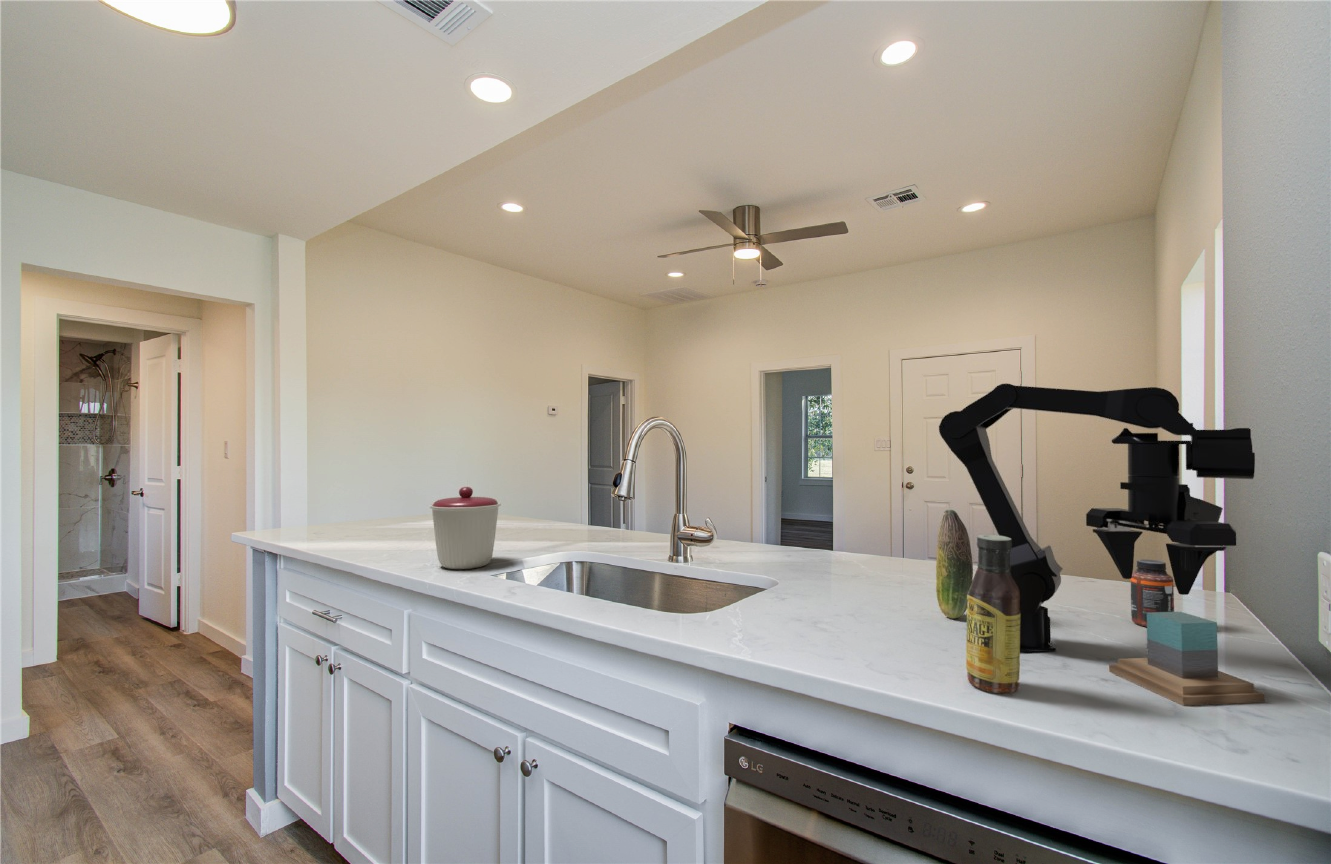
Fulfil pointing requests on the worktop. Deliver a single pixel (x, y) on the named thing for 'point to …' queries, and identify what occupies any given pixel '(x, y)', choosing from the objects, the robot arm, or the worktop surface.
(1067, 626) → the worktop surface
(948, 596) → the vegetable
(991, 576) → the sauce bottle
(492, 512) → the canister
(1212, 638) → the teal and grey block
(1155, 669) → the walnut stand
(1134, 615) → the supplement bottle
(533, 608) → the worktop surface
